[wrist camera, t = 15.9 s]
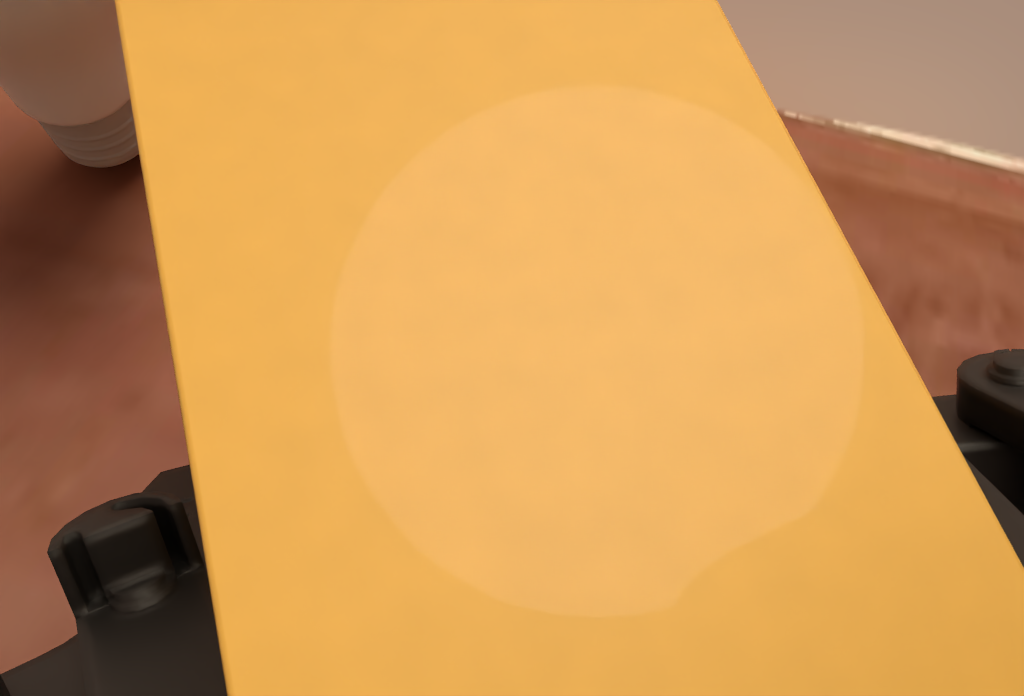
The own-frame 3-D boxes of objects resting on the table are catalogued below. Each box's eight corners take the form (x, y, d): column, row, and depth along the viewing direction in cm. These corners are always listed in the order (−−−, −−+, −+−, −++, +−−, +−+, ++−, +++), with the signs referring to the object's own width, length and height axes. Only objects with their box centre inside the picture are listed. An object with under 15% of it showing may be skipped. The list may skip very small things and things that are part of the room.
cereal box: (522, 389, 21) (634, -159, 8) (655, 784, 18) (1189, 862, 5) (318, 442, 20) (99, -82, 8) (415, 871, 17) (313, 1240, 4)
